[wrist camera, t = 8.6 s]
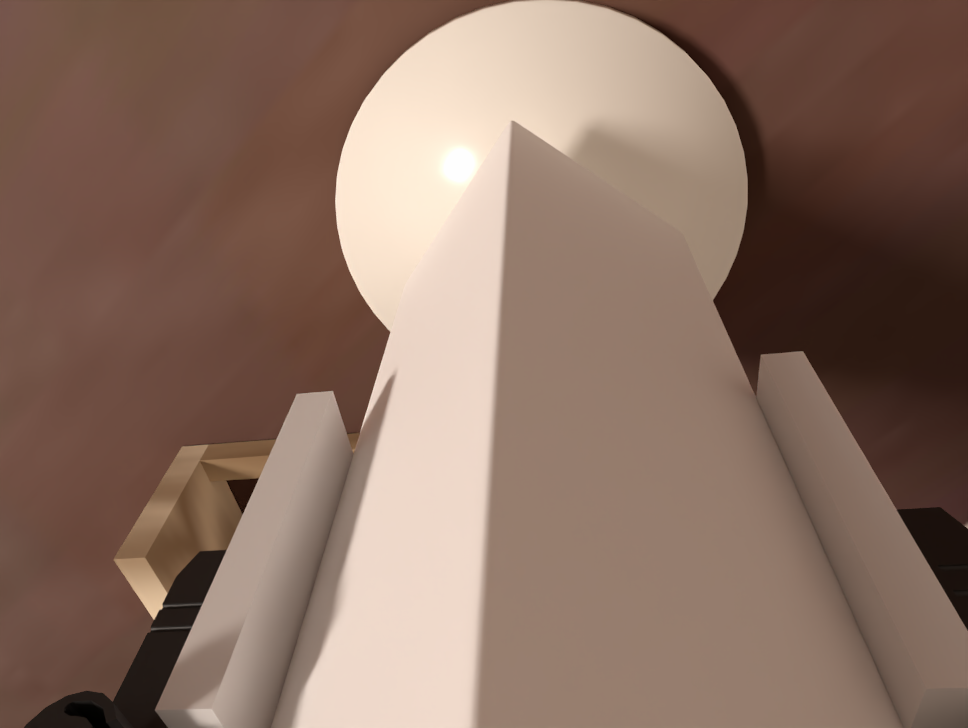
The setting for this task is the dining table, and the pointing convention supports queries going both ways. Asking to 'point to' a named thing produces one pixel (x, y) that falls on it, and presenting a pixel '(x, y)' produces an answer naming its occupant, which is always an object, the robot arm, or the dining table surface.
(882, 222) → the dining table surface
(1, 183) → the dining table surface
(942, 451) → the dining table surface
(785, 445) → the robot arm
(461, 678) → the milk
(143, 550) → the shelf bay
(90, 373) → the dining table surface
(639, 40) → the cream flat disc
